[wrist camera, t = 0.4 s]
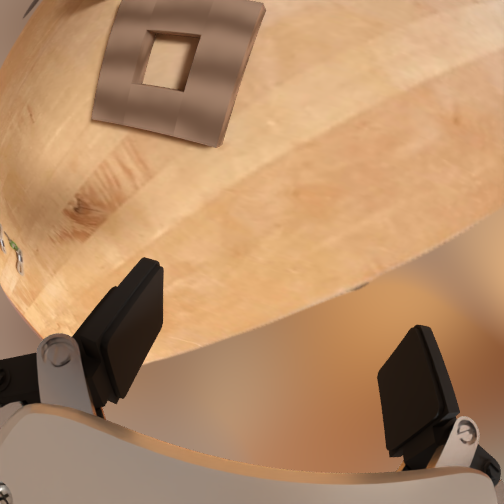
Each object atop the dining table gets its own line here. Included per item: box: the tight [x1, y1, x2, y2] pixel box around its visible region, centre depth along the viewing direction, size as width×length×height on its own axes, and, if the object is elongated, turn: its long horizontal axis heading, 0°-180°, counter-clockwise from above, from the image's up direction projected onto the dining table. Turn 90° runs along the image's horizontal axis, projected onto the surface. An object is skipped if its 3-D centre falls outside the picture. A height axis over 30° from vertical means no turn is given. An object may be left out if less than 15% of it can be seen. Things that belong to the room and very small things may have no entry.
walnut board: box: [92, 0, 266, 148], centre depth 30 cm, size 20×20×3 cm
